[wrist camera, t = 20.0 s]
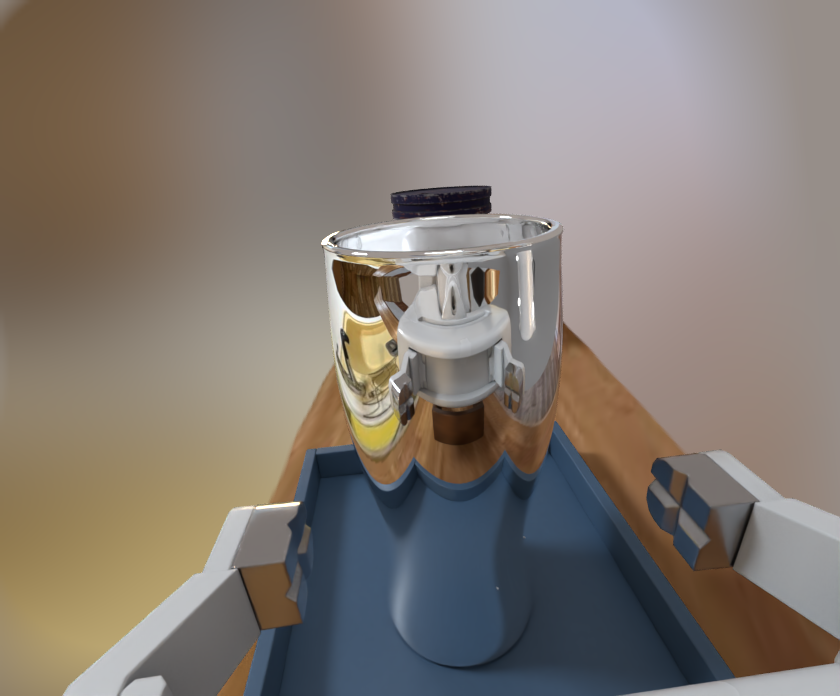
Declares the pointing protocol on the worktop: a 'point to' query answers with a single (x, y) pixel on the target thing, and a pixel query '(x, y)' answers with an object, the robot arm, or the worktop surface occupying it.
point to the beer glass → (451, 411)
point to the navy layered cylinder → (441, 202)
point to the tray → (550, 613)
